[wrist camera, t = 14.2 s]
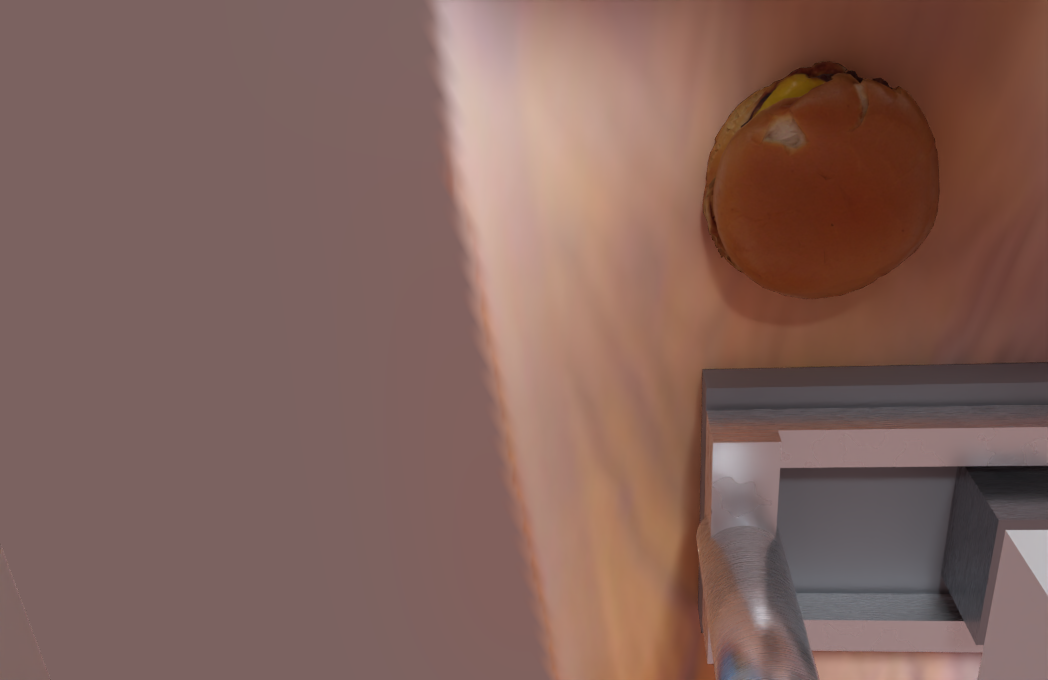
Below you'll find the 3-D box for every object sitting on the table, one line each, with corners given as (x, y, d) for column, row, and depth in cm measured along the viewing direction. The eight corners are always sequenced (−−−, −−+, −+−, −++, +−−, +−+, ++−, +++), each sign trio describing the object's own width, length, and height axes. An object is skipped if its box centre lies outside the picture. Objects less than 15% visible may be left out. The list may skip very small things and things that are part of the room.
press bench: (702, 369, 45) (706, 388, 44) (1315, 357, 43) (1346, 376, 41) (698, 607, 52) (701, 632, 50) (1232, 611, 49) (1256, 637, 47)
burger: (820, 312, 44) (842, 354, 40) (660, 207, 42) (666, 239, 38) (970, 139, 40) (1012, 165, 36) (799, 17, 38) (823, 29, 34)
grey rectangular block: (958, 457, 44) (998, 520, 40) (1046, 456, 44) (1097, 519, 39) (940, 574, 47) (976, 645, 42) (1022, 574, 47) (1067, 645, 42)
